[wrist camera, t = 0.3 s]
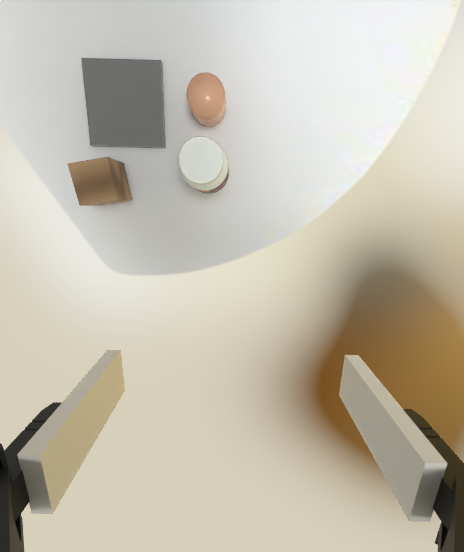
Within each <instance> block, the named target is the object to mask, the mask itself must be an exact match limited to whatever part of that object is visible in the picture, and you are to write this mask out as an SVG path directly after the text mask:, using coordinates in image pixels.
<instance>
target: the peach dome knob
mask: <svg viewBox="0 0 464 552" xmlns="http://www.w3.org/2000/svg"><path fill="white" fill-rule="evenodd" d="M187 99H188V102H189V105H190V107H191V109H192V112H193V114H194V116H195V118H196V120H197V121H198V122H199V123H200V124H202V125H204V126H207V127H212V126H215V125H217V124H219V123H220V122H221V121H222V119H223V118H224V115H225V111H226V106H225V92H224V87H223V85H222V83H221V81H220V80H219V79H218V78H217V77H216V76H215V75H213V74H211V73H200V74H198V75H196V76H195V77H194V78H193V79H192V80H191V81H190V83H189V85H188V88H187Z"/></svg>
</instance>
